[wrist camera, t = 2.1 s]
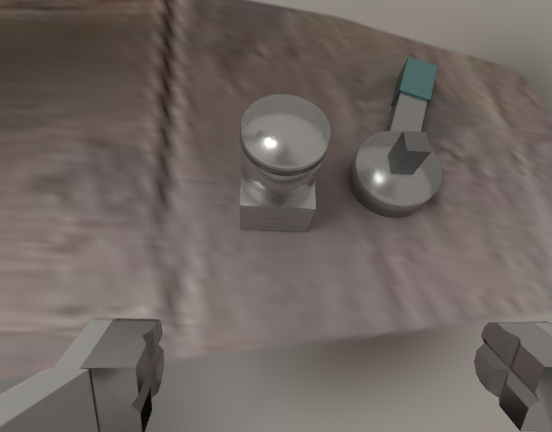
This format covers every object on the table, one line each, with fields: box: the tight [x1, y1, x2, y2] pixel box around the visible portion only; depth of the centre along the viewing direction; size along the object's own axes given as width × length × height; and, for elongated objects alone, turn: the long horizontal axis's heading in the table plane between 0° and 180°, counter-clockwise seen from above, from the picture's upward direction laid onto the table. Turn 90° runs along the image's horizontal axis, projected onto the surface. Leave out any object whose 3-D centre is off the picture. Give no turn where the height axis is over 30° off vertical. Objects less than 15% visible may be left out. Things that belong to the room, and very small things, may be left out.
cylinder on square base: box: [240, 94, 331, 232], centre depth 23 cm, size 5×5×9 cm
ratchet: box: [348, 57, 442, 217], centre depth 29 cm, size 18×7×6 cm, turn 160°
